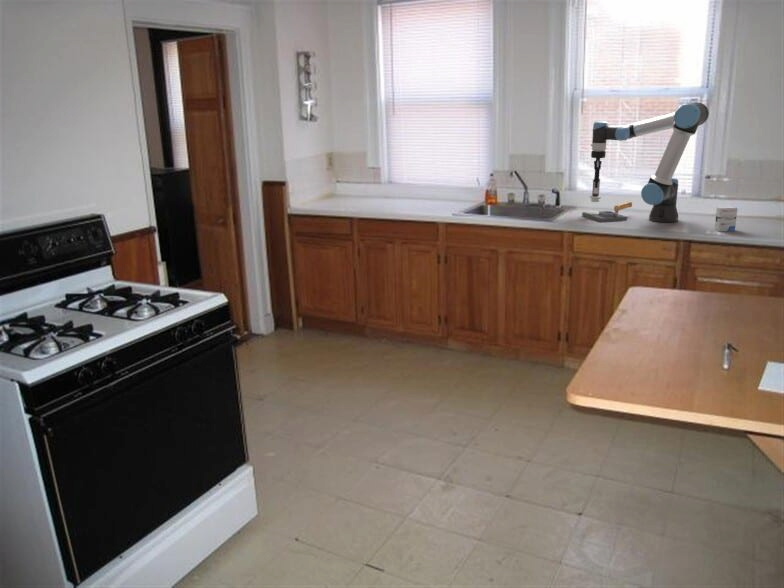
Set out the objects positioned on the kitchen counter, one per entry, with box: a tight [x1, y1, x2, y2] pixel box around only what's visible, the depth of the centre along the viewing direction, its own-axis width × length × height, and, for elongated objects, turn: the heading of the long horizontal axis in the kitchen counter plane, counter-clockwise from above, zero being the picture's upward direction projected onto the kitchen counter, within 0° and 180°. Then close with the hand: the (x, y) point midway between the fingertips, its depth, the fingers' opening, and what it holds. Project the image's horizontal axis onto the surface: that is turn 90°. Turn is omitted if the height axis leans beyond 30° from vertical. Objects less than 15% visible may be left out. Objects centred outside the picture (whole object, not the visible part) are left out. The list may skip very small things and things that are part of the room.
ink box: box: [714, 206, 738, 232], centre depth 358 cm, size 8×5×12 cm, turn 92°
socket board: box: [581, 210, 627, 223], centre depth 397 cm, size 20×16×5 cm
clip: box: [613, 201, 633, 212], centre depth 394 cm, size 17×3×3 cm, turn 136°
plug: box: [589, 179, 602, 203], centre depth 397 cm, size 6×6×12 cm
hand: (595, 192), depth 397 cm, fingers closed on plug, 3 cm apart
